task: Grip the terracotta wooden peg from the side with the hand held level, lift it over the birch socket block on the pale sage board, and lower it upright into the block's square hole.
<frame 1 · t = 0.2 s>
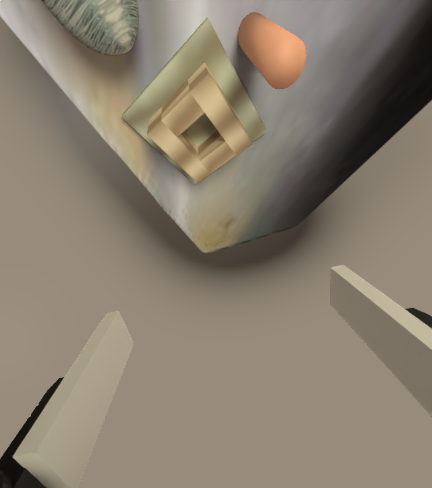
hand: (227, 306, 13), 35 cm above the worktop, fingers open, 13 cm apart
socket: (198, 122, 36), on the worktop
peg: (252, 34, 28), on the worktop
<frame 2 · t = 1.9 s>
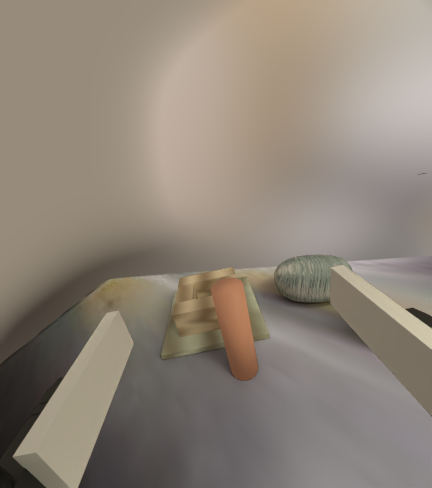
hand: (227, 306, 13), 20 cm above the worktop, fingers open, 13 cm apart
socket: (213, 312, 42), on the worktop
green striped ellipsoid: (312, 296, 41), on the worktop
peg: (244, 366, 30), on the worktop
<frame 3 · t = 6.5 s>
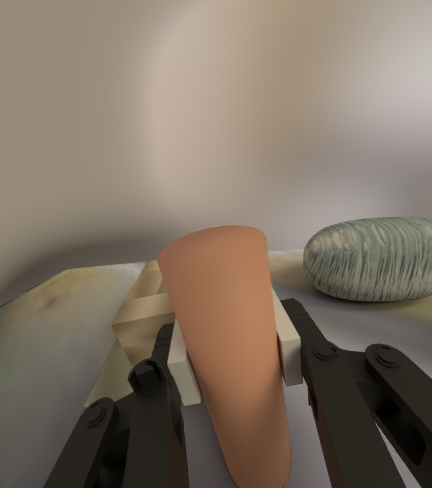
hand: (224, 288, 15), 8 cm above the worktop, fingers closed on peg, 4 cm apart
socket: (198, 316, 25), on the worktop
green striped ellipsoid: (368, 290, 24), on the worktop
peg: (257, 449, 13), on the worktop, touching gripper
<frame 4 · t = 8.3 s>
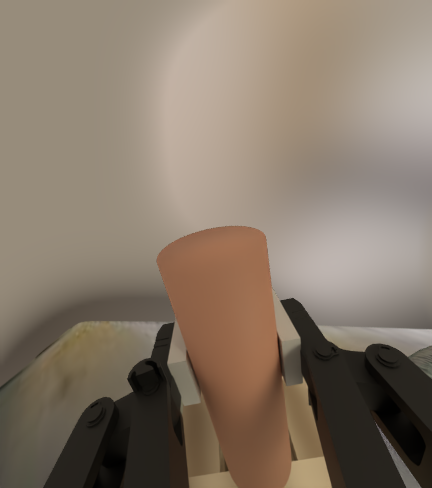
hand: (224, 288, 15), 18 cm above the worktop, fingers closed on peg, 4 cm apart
socket: (259, 457, 19), on the worktop
peg: (257, 450, 13), point 9 cm above the worktop, touching gripper
when the fingers open (11 cm above the worktop, at t = 10.4 s): peg drops 2 cm, resting on socket.
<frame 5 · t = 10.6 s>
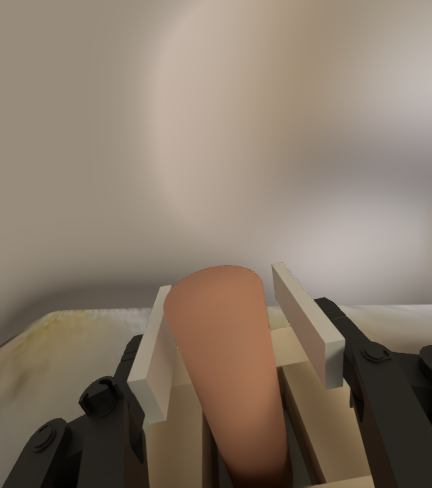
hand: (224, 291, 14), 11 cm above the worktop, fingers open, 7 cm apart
socket: (262, 473, 14), on the worktop
peg: (260, 466, 13), point 1 cm above the worktop, touching socket
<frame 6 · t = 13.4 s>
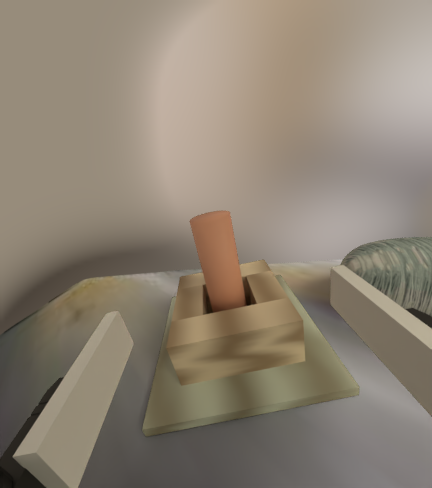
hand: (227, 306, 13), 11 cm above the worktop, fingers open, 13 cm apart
socket: (235, 332, 25), on the worktop
green striped ellipsoid: (402, 307, 24), on the worktop
peg: (233, 326, 25), point 1 cm above the worktop, touching socket
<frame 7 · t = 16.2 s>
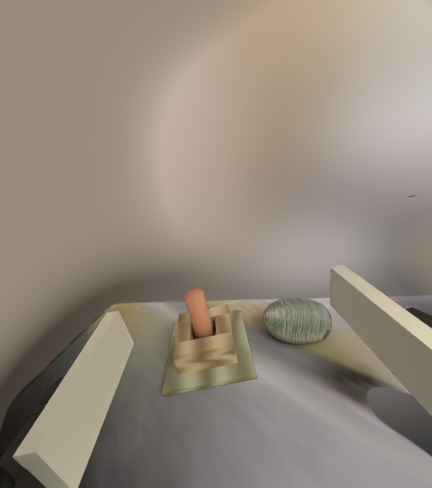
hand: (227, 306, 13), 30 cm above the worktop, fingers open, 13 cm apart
socket: (208, 347, 47), on the worktop
green striped ellipsoid: (297, 334, 46), on the worktop
peg: (207, 344, 46), point 1 cm above the worktop, touching socket
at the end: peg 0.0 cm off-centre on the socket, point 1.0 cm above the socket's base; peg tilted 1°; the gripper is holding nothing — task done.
